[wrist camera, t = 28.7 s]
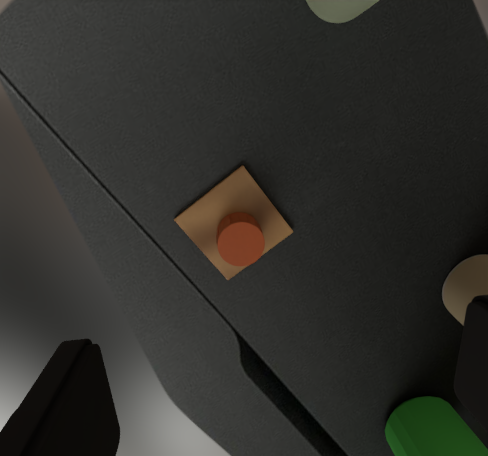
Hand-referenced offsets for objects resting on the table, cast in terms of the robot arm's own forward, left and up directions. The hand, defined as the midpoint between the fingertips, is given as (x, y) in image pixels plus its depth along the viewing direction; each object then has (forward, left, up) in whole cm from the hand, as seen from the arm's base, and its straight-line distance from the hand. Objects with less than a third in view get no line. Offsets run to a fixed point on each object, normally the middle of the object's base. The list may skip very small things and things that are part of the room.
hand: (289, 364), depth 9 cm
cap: (+4, -2, -23) cm, 23 cm away
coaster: (+3, -2, -24) cm, 24 cm away
